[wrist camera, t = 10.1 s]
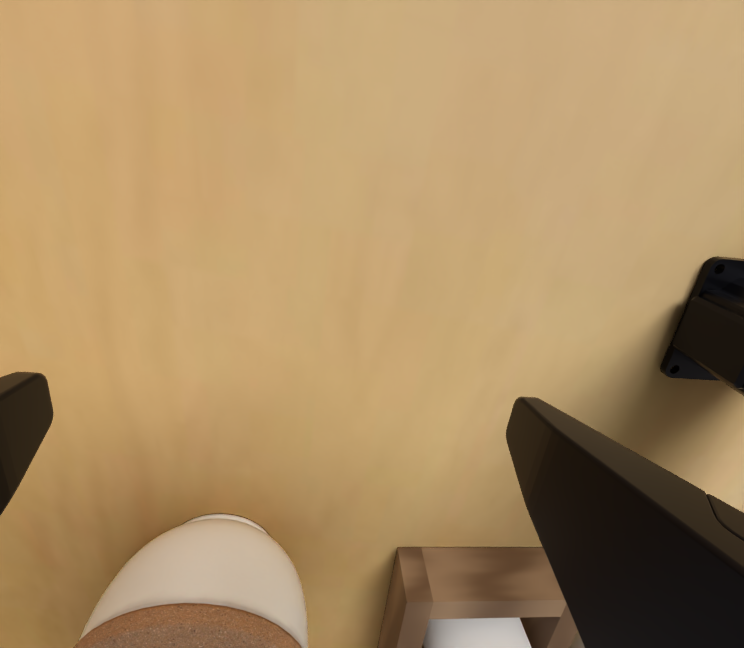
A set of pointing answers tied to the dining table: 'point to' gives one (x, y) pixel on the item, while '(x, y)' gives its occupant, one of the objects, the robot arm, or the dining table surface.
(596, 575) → the robot arm
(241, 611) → the lidded jar
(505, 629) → the can
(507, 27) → the dining table surface
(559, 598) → the sleeve block
